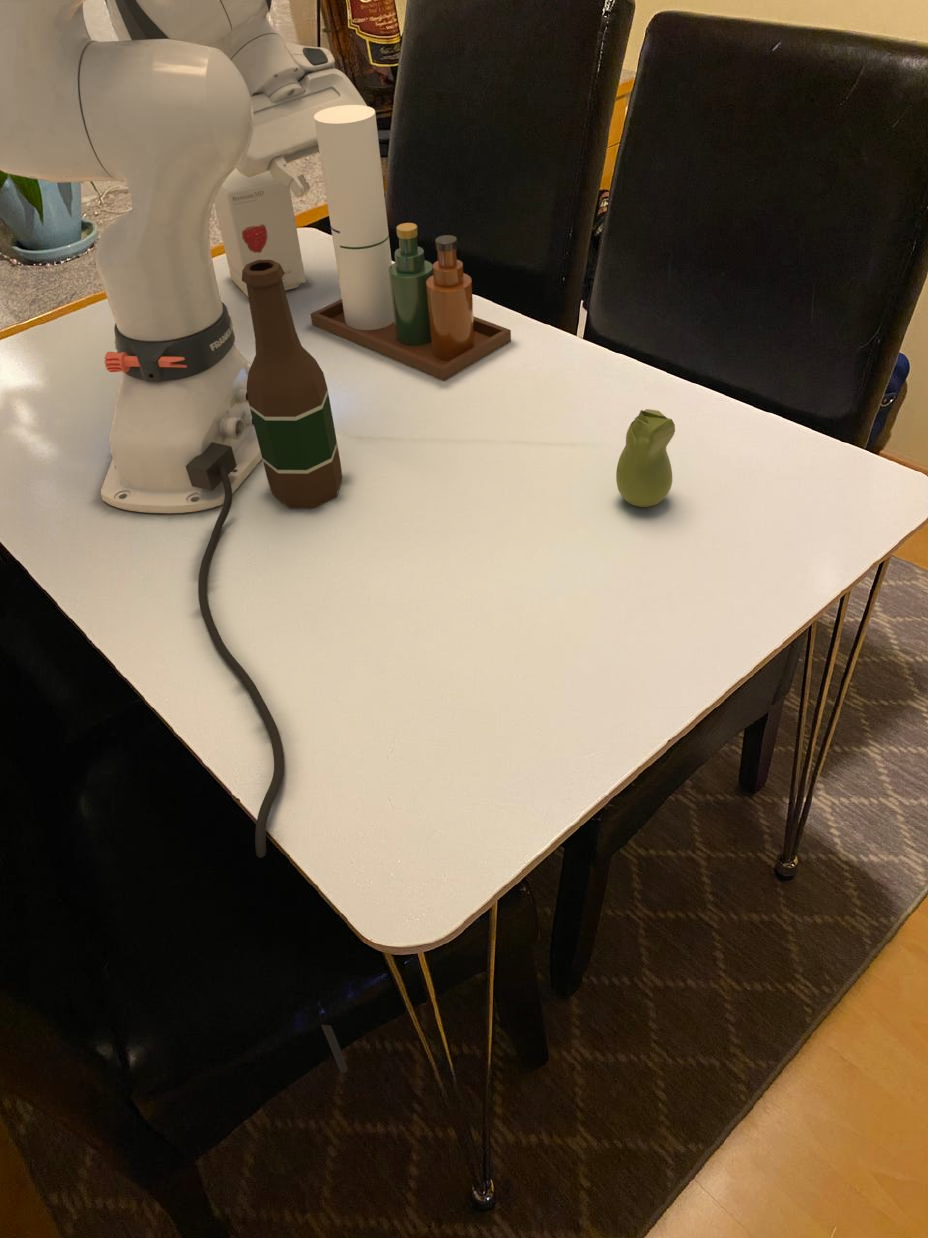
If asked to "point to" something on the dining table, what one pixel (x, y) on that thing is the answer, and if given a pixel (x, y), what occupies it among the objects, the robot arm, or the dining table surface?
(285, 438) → the beer bottle
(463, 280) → the amber bottle
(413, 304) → the green bottle
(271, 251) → the white product box
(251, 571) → the dining table surface
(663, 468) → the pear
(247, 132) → the robot arm
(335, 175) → the cylindrical container
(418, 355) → the tray
